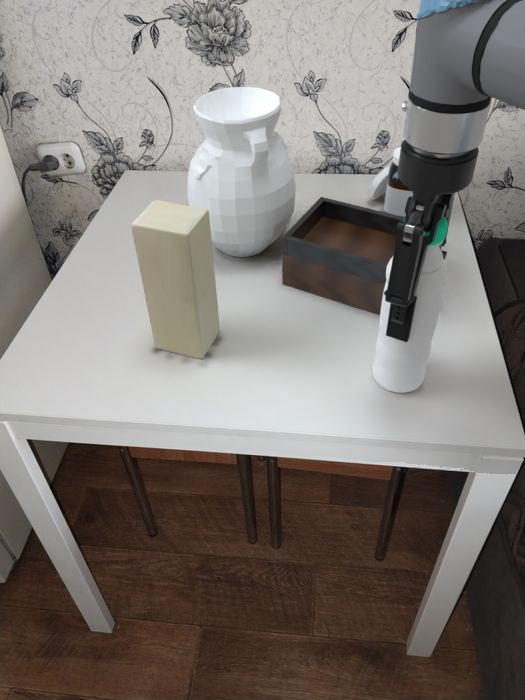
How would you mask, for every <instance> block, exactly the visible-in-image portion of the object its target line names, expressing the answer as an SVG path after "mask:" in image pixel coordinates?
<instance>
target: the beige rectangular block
mask: <svg viewBox="0 0 525 700" xmlns="http://www.w3.org/2000/svg"><path fill="white" fill-rule="evenodd" d="M130 228H131V234H132V238H133V244H134V249H135V254H136V259H137V263H138V268H139V273H140V274H139V275H140V278H141V284H142V289H143V294H144V298H145V303H146V304H145V305H146V308H147V313H148V318H149V324H150V328H151V329H150V330H151V334H152V338H153V343H154V344H153V345H154V347H155V348H156V349H159V350H161V351H166V352H169V353H174V354H178V355H182V356H186V357H191V358H194V359H199V360H203V359H204V358H205V357H206V355H207V354H208V352H209V350H210V349H211V347H212V345H214V342H215V341H216V339H217V337H218V335H219V334H220V332H221V329H220V315H219V303H218V295H217V285H216V274H215V273H216V272H215V264H214V251H213V244H212V239H211V229H210V218H209V211H208V209H205V208H200V207H194V206H189V204H188V205H187V204H183V203H177V202H170V201H165V200H159V199H154V200H152V202H151V203H150V204H149V205H148V206H147V207H146V208H145V209H144V210H143V211H142V212H141V213H140V214H139V215H138V216H137V217H136V218H135V219H134V221H133V222H132V223H131V225H130Z"/></svg>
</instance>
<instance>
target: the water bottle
mask: <svg viewBox="0 0 525 700" xmlns="http://www.w3.org/2000/svg"><path fill="white" fill-rule="evenodd" d="M404 220H405V219H404ZM446 232H447V220H446V218H445V217H443V219H442V220H440V223H439V226H438V230H437V233H436V237H435V240H434V242H432V243H431V244H429V245H428V248H427V252H426V256H425V259H424V263H423V267H422V270H421V274H420V278H419V281H418V285H417V289H416V292H415V296H417V300H416V305H415V310H414V316H413V321H412V326H411V331H410V337H409V340H408V342H404V341H401V340H398V339H395V338H392V337H389V336H386V330H387V324H388V317H389V310H390V304H391V303H389V302H386V301H385V296H386V295H384V292H383V298H382V304H381V312H380V315H379V323H378V334H377V338H376V341H375V353H374V354H375V355H374V358H373V363H372V370H371V371H372V377H373V379H374V381H375V382H376V383H377V384H378V385H379V386H380V387H381V388H382V389H385V390H387V391H389V392H393V393H397V394H399V393H400V394H402V393H403V394H405V393H410V392H413V391H415V390H417V389H418V388H419V387H421V386H422V384H423V383H424V381H425V377H426V373H427V367H428V365H427V364H428V361H429V359H430V354H431V350H432V340H433V337H434V335H435V331H436V327H437V324H438V321H439V316H440V311H441V305H442V301H443V293H444V287H445V286H446V283H447V280H448V276H449V275H448V268H447V264H446V261H445V260H444V259H443V254H442V251H441V250H442V248H441V249H440V248H439V246H440V245H441V244H442V243H443V240H444V238H445V236H446ZM429 233H430V231H429V232H425V234H424V235H425V236H429ZM392 260H393V257H392V258H391V259H390V261H389V263H388V265H387V268H386V279H387V280H386V283H385V288H384V291H385V290H387V288H388V282H389V277H390V271H391V266H392Z"/></svg>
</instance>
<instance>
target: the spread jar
mask: <svg viewBox="0 0 525 700" xmlns="http://www.w3.org/2000/svg"><path fill="white" fill-rule="evenodd" d="M400 150H401V146H398V147H396V148H395V149H394V150H393V154H392V162H391V164H390V165H387V166H385V167H384V168H383V169H382V170H381V171H380V172H379V173H378V174H377V175H376V176H375V178H374V179H373V180H372V181H371V183H370V185H369V187H368V189H367V190H368V191H367V196H368V197H369V198H370V199H372V200H374V201H375V200H378V199H379V198H381V197H382V196H383V195H384V194H385V196H384V203H383V204H384V206H383V212H385V213H389V214H393V215H397V216H401V217H406V213H405V207H406V203H407V200H408V198H409V196H410V197H412V196H413V192H412V191H411V190H410V189H409V188H408V187H407V186H406V185H404V184H403V183H402V182H401V181H400V179H399V177H398V165H399V157H400Z"/></svg>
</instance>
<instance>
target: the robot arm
mask: <svg viewBox="0 0 525 700" xmlns="http://www.w3.org/2000/svg"><path fill="white" fill-rule="evenodd" d="M492 99H495V100H498V101H500V102H502V103H505V104H508V105H510V106H513V107H516V108H518V109H520V110H523V111H525V0H420V3H419V7H418V12H417V13H416V29H415V39H414V49H413V58H412V67H411V74H410V83H409V88H408V97H407V100H404V101H403V102H402V105H401V106H400V107H401V108H400V109H401V111H402V112H406V114H405V119H404V125H403V133H402V137H403V140H402V142H401V144H400V147H401V150H400V157H399V165H398V177H399V179H400V181H401V182H402V183H403V184H404V185H406V186H407V187H408V188H409V189H410V190H411V191H412V192H413V196H412V197H410V196H409V198H408V200H407V203H406V207H405V213H406V217H405V220H404V221H399V223H398V224H397V227H396V229H397V230H396V244H395V250H394V255H393V260H392V266H391V271H390V277H389V282H388V288H387V290H385V291H384V295H386V296H385V301H386V302H389V303H391V304H390V310H389V317H388V324H387V330H386V336H389V337H392V338H395V339H398V340H401V341H404V342H408V340H409V337H410V331H411V326H412V321H413V316H414V310H415V305H416V300H417V296H415V292H416V289H417V285H418V281H419V278H420V274H421V270H422V267H423V263H424V259H425V256H426V252H427V248H428V245H429V244H431V243H432V242H434V240H435V237H436V233H437V230H438V226H439V223H440V220H442V219H443V217H445V218H446V220H447V232H446V236H445V238H444V240H443V243H442V244H441V245H440V246H439V248H440V249H441V251H442V254H443V259H444V261H445V260H446V257H447V254H448V251H446V250H444V249H443V250H442V247H444V246H445V245H446V244H447V237H448V232H449V227H450V221H451V217H452V210H453V206H454V199H455V195H456V194H457V193H459V192H461V191H463V190H465V189H466V188H467V187H469V186H470V185H471V183H472V182H473V178H474V174H475V170H476V165H477V161H478V157H479V153H480V150H479V146H481V145H482V142H483V139H484V134H485V129H486V125H487V122H488V117H489V112H490V108H491V100H492ZM429 231H430V233H429V236H425V235H424V234H425V232H429Z"/></svg>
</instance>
